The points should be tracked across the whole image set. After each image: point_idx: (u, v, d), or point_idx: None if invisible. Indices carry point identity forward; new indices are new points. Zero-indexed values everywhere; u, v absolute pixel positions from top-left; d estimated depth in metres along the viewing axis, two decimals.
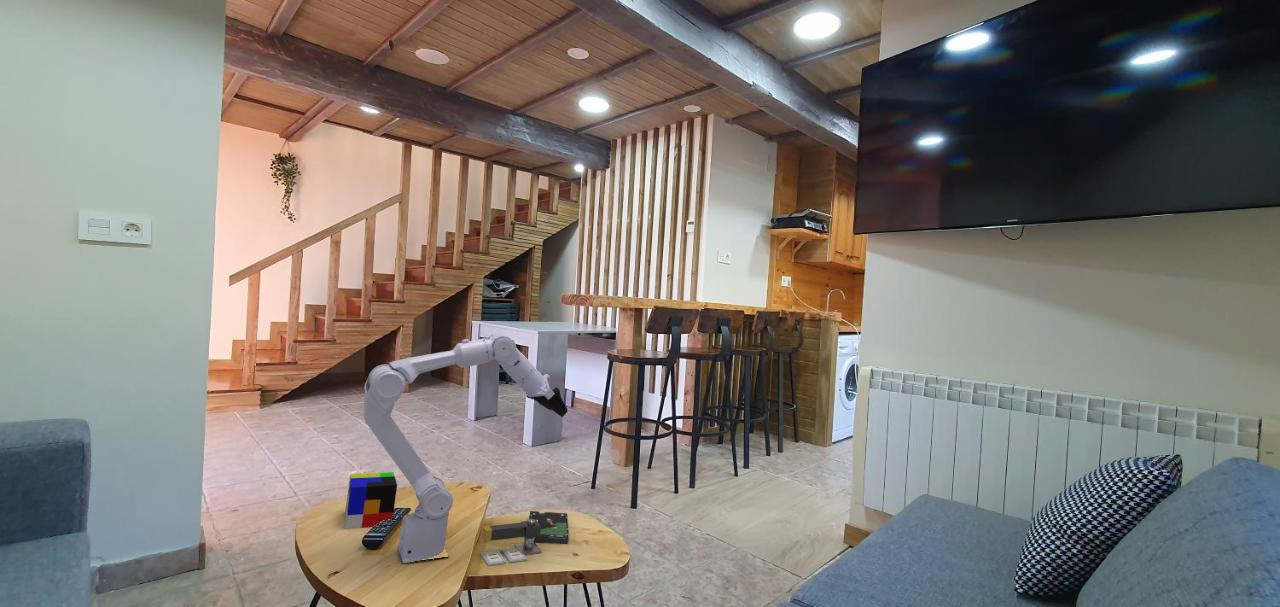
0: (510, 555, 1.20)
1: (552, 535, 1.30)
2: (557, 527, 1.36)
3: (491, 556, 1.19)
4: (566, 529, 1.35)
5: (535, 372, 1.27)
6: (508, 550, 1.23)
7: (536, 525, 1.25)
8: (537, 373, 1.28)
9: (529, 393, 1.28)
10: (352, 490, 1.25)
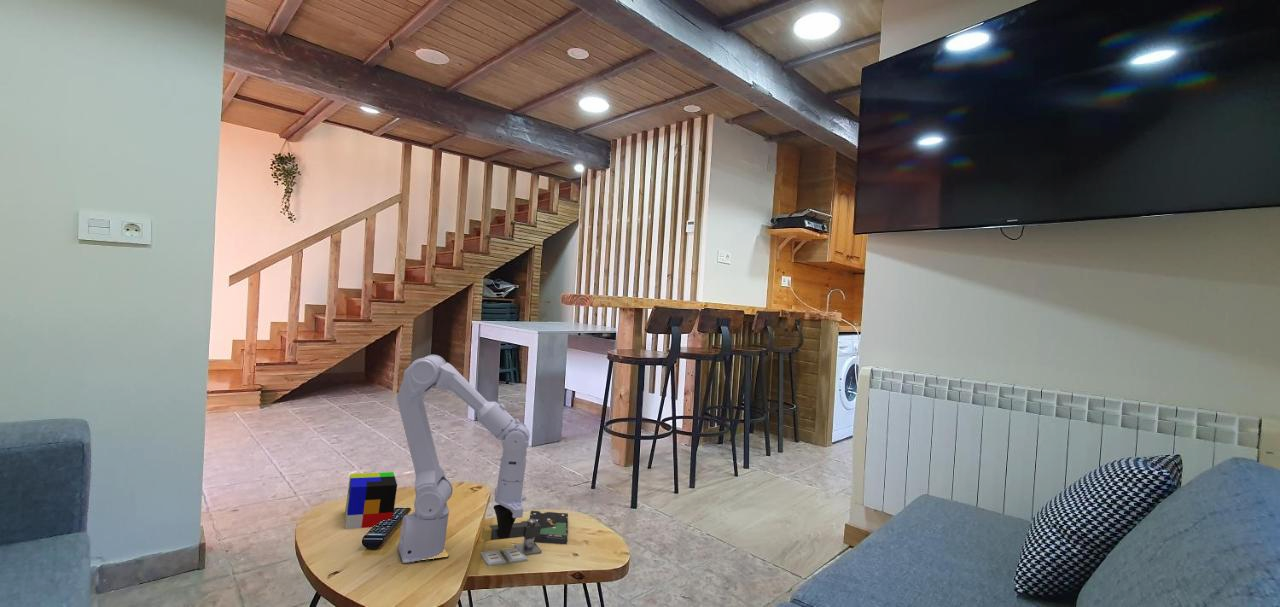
0: (510, 555, 1.20)
1: (551, 535, 1.30)
2: (557, 527, 1.35)
3: (491, 556, 1.19)
4: (565, 529, 1.35)
5: (521, 485, 1.20)
6: (508, 550, 1.23)
7: (536, 525, 1.25)
8: (521, 487, 1.20)
9: (499, 498, 1.18)
10: (352, 490, 1.25)
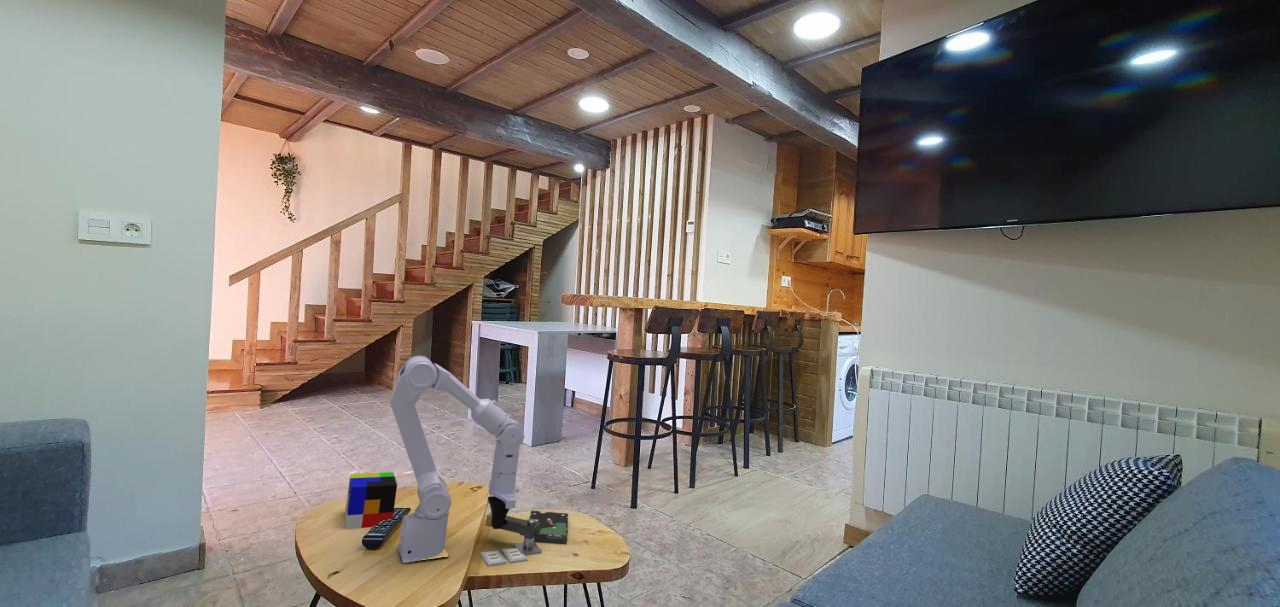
0: (510, 555, 1.20)
1: (550, 535, 1.30)
2: (557, 527, 1.35)
3: (491, 556, 1.19)
4: (565, 529, 1.35)
5: (514, 477, 1.24)
6: (508, 550, 1.23)
7: (532, 526, 1.24)
8: (514, 479, 1.25)
9: (493, 490, 1.23)
10: (352, 490, 1.25)
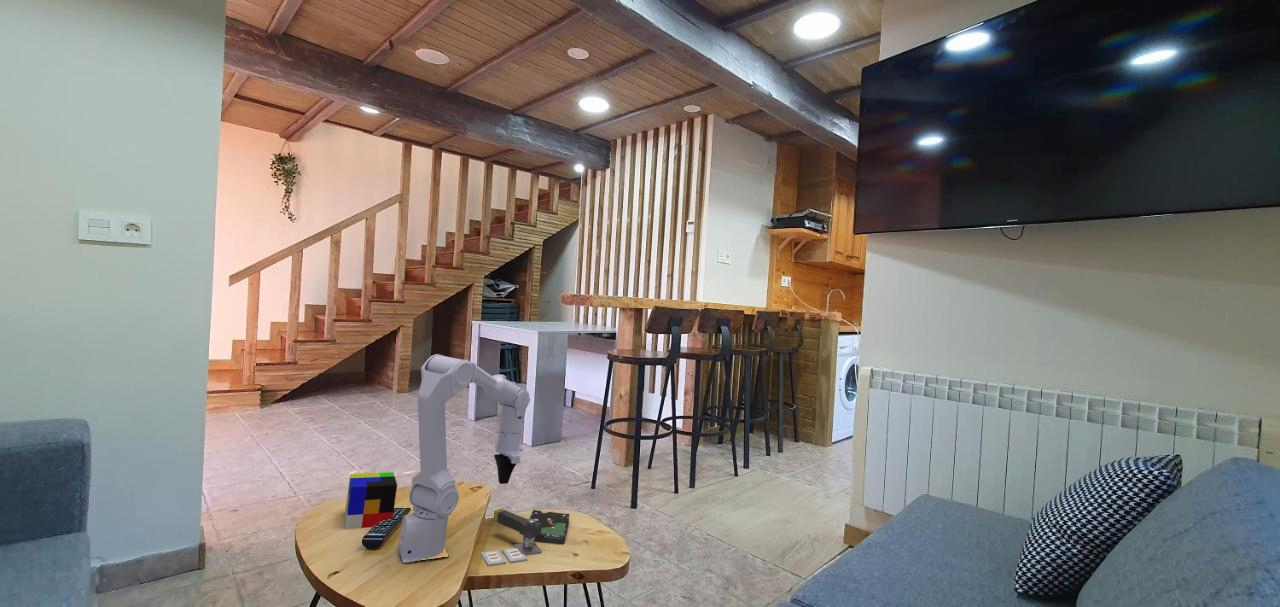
0: (510, 555, 1.20)
1: (548, 535, 1.30)
2: (556, 527, 1.35)
3: (491, 556, 1.19)
4: (564, 529, 1.34)
5: (518, 437, 1.38)
6: (508, 550, 1.23)
7: (530, 526, 1.24)
8: (519, 439, 1.39)
9: (500, 448, 1.37)
10: (352, 490, 1.25)
